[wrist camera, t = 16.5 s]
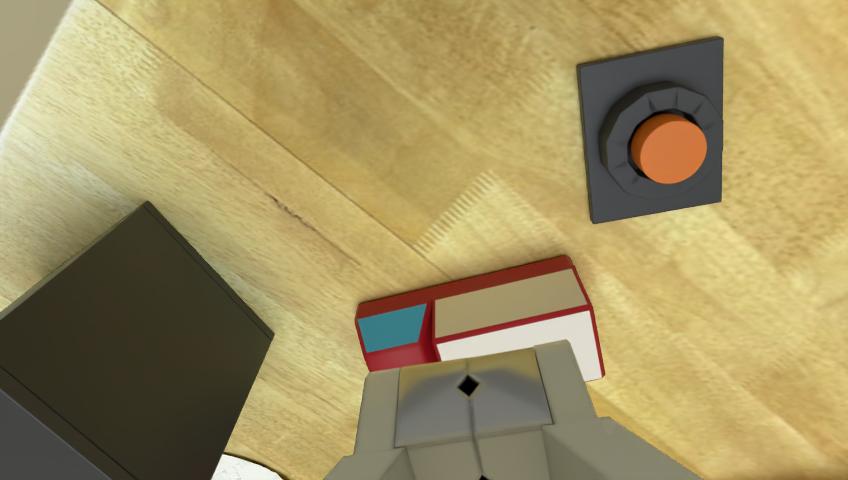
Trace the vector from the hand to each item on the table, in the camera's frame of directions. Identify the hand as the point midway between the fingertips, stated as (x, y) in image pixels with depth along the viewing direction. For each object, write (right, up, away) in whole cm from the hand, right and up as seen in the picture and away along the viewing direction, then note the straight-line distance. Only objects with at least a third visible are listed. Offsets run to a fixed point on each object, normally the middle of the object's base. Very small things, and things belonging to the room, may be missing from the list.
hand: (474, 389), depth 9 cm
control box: (+13, +9, +26) cm, 31 cm away
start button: (+13, +8, +25) cm, 29 cm away
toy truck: (+2, -3, +32) cm, 33 cm away
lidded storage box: (-20, -3, +32) cm, 38 cm away
